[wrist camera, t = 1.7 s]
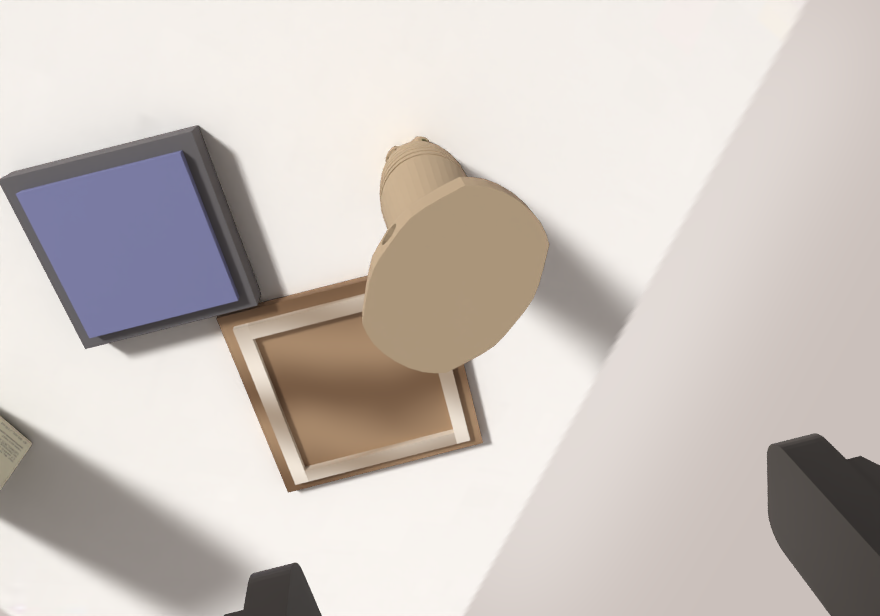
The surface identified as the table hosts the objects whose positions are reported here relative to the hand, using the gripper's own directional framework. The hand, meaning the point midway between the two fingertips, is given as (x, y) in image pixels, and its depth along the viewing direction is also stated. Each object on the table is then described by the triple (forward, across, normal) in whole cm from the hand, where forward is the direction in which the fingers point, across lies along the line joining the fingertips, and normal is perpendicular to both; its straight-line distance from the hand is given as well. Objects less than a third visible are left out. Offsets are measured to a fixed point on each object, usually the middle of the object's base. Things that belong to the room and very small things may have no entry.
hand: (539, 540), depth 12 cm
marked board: (+26, +6, +11) cm, 29 cm away
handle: (+26, 0, 0) cm, 26 cm away
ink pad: (+26, +14, 0) cm, 29 cm away
